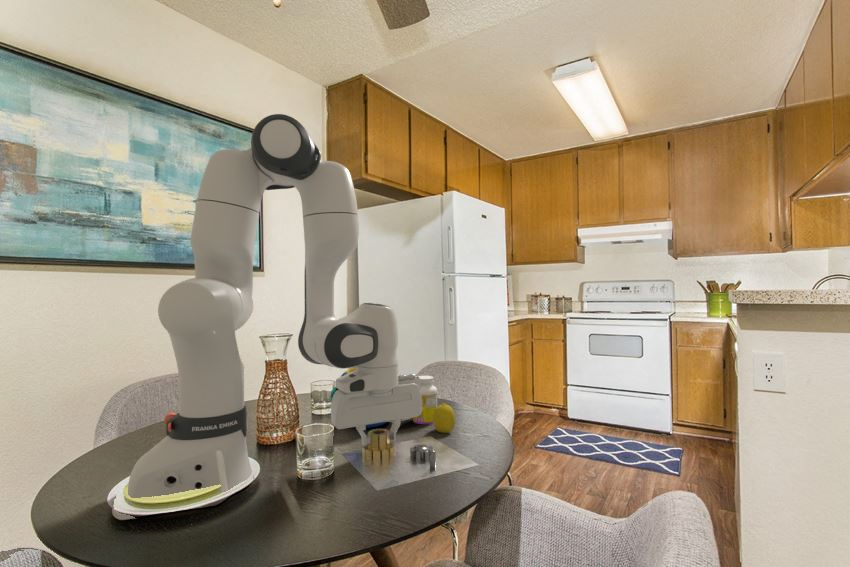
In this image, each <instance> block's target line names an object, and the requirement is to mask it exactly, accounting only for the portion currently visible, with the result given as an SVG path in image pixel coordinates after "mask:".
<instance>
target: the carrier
mask: <svg viewBox="0 0 850 567" xmlns="http://www.w3.org/2000/svg"><path fill="white" fill-rule="evenodd" d="M394 443H395V449H396V452H395V455H394V456H392V457H391V458H387V459H383V460H382V459H380V460H373V459H372V460H371V459H367V458H365V457H363V456H362V449H360V450H354V451H349V452H345V453H341V455H342V456H343V457H344V458H345V459H346V460H347V461H348V462H349V464H351V465H352V466H353V467H354V468H355V470H356V471H358V473H359V474H360V475H361V476H362V477H363V478H364V479H365V480H366V481H367V482H368V483H369V484H370V485H371V486H372V487H373V489H374V490H375V491H376V492H377V491H382V490H385V489H389V488H394V487H397V486H401V485H407V484H409V483H414V482H418V481H421V480H425V479H426V480H427V479H429V478H435V477H437V476H442V475H447V474H449V473H453V472H458V471H462V470H466V469H470V468H474V467H478V466H480V464H479V463H477V462H475V461H473V460H472V459H470V458H469V457H467V456H465V455H463V454H462V453H460V452H458V451H457V450H455V449H454V448H452V447H450V446H448V445H446V444H445V443H443V442H441V441H440V440H438V439H437V438H435V437H432V436H425V437H420V438H415V439H410V440H405V441H400V442H394Z"/></svg>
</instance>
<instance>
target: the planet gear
mask: <svg viewBox="0 0 850 567" xmlns="http://www.w3.org/2000/svg"><path fill="white" fill-rule="evenodd" d="M389 431H390V430H388V429H387V428H376V429H375V428H374V429H371V430H369V431H368V432H367V435H369V436H370V437H371V441H370V442H371V445H367V446H363V445H362V446H361V450H362V456H363V457H365V458H367V459H371V460H372V459H373V460H380V459H382V460H383V459H387V458H391V457H392V456H394V455H395V452H396V449H395V443H396V442H394V440H393V441H390V432H389Z"/></svg>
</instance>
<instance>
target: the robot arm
mask: <svg viewBox="0 0 850 567" xmlns="http://www.w3.org/2000/svg"><path fill="white" fill-rule="evenodd" d="M250 139H251V140H250V147H249V148H248V149H243V150H241V149H240V150H239V149H234V148H224V149H223V148H222V149H219V150H217V151H215V152H214V153H212V154H211V156H210V158H209V159H208V162H207V164H206V167H205V169H204V172H203V174H202V178H201V181H200V185H199V189H198V193H197V198H196V205H195V210H194V215H193V221H192V228H191V234H190V240H189V241H190V242H189V244H190V247H191V250H192V253H193V258H194V260H193V261H194V275H195V276H194V277H193V278H188V279H186V280H183V281H181V282H178V283H176V284H174V285H173V286H170V287H169V288H168V289H166V290H165V292H164V293H163V295H162V296H161V298H160V300H159V303H158V309H157V313H158V314H157V315H158V319H159V322H160V323H161V325H162V327H163V328H164V329H165V330H166V331H167V333H168V335H169V337H170V341H171V346H172V348H173V353H174V356H175V357H174V358H175V361H176V366H177V372H178V403H179V405H178V408H179V410H178V413H175V412H168V413H167V414H166V415H165V417H164V421H163V422H164V423H165V426H166V427H165V434H166V436H165V437H164V438H163V439H161V440H160V441H159V442H157V443H156V444H155V445H154V446H153V447H152V448H150V449H149V450H147V451H146V452H145V453H144V454H143V455H141V457H139V459H138V460H137V461H136V463H135V464H134V466H133V467H132V469H131V472H130V476H129V479H128V484H127V485H128V495H129V496H130V497H131V498H141V497H152V496H153V497H154V496H161V495H169V494H174V493H179V492H185V491H189V490H195V489H201V488H206V487H210V486H214V485H219V484H220V485H221V488H219V489H218V490H217V491H218V492H226V491H228V490H230V489H231V488H233V487H234V486H236V485H238V484H239V483H241V482H243V481H245V480H247V479H248V478H249V477H250V476H251V474H252V472H253V470H252V466H251V462H250V460H249V459H250V458H249V453H248V447H247V437H246V436H247V435H248V434H247V433H248V425H249V423H248V422H249V421H248V411H247V406H246V405H245V366H244V363H243V361H242V359H241V355H240V352H239V348H238V343H237V338H236V331H237V330H239V329H241V328H242V327H244V325H245V324H246V323H247V322H248V320H249V319H250V317H251V316H252V313H253V311H254V301H253V290H254V289H253V286H254V273H253V272H254V269H253V266H254V263H253V262H254V248H255V244H256V243H255V242H256V238H257V237H256V235H257V229H258V225H259V224H258V223H259V218H260V212H261V204H262V198H263V195H264V193H265V190H266V191H273V190H275V191H276V190H287V189H293V188H295V189H296V190H297V191H298V194H299V195H300V200H301V208H302V210H301V211H302V223H303V224H302V225H303V239H304V313H303V314H304V316H303V322H302V324H301V328H300V330H299V333H298V337H297V338H298V340H297V345H298V349H299V352H300V354H301V356H302V357H303V358H304V359H305V360H306V361H307V362H310V363H312V364H315V365H322V366H323V365H324V366H327V367H331V368H334V369H335V368H336V369H340V370H341V369H343V370H344V369H349V368H350V369H351V368H353V367H356V368H357V370H355V371H353V372H351V373H348V374H346V375H344V376H341V375H340V377H337V378H336V379H335V387H337V388H338V389H339V390H337V391H336V392H335V393H334V395H333V399H332V401H331V405H330V406H331V407H330V422H331V425H332V426H334V428H336V429H337V430H344V429H350V428H355V427H356V428H355V429H356V430H357V432H358V434H359V435H360V437H361V442H360V443H361V445H362V446H367V445H371V442H370V441H371V437H370V436H369V435H368V434H366V433H365V432H364V431H366V429H367V428H366V425H368V424H374V423H380V422H386V421H388V422H391V423H392V424H391V427H390V429H389V430H388V431H389V432H390V441H393V442H394V441H396V439H397V432H398V429H399V428H400V426H401V425H402V424H401V422H402V421H401V420H405V419H408V418H413V417H416V416H420V414H421V413H422V411H423V407H422V398H421V392H420V390H421V380H420V378H419V377H418V376H419V375H416V374H415V373H410V374H402V375H401V374H399V360H398V356H397V349H398V344H399V331H398V320H397V316H396V312H395V310H394V309H393V308H392V307H391V306H389V305H386V304H381V303H373V302H363V303H361V304H359V306H358V308H356V309H354V311H352V312H351V313H349V314H347V315H345V316H343V317H341V318H338V319H337V318H336V317H335V278H336V276H337V273H338V270H339V269H340V267H341V266H342V265H343V263H345V261H346V260H348V259H349V258H350V257H351V256H352V254H353V253H354V251H355V250H356V249H357V247H358V242H359V236H360V235H359V234H360V222H359V210H358V202H357V195H356V190H355V187H354V182H353V178H352V175H351V172H350V171H349V169H348V168H347V167H346V166H345V165H344V164H341V163H339V162H337V161H333V160H323V159H321V158H322V152H321V151H320V149H319V147H318V146H317V145H316V143H315V141H314V140H313V138H312V136H311V135H310V133H309V132H308V131H307V129H306V128H305V126H304V125H303V124H301V122H299V121H298V120H297V119H295V118H294V117H292V116H290V115H287V114H283V113H274V114H271V115H267V116H265V117H264V118H262V119H260V120H259V122H258V123H257V124H256V125H255V127H254V128H253V131H252V134H251V138H250ZM386 423H387V422H386ZM128 504H129V505H132V506H133V505H134V504H133V503H132V502H130V501H128ZM111 514H112V516H113V517H114V518H115V519H117V520H119V521H125V520H130V519H131V520H133V519H136V518H135V517H133V516H130V515H126V514H121V513H119V512H117V511H115V510H114V509H112V508H111Z"/></svg>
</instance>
